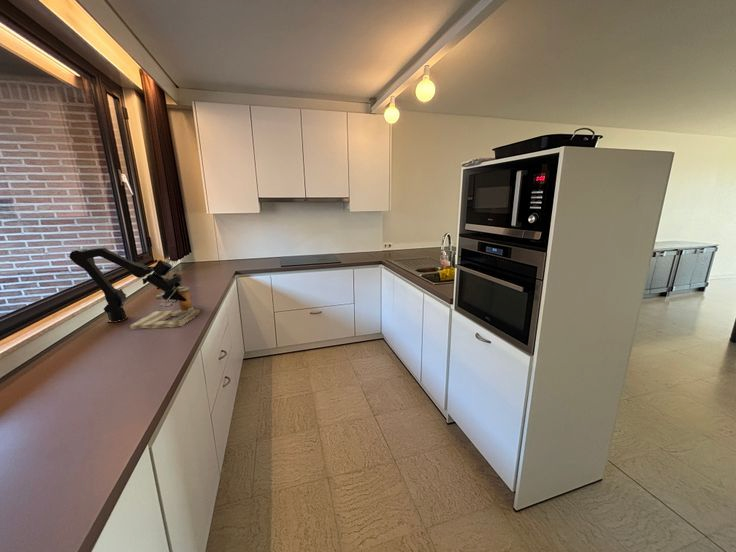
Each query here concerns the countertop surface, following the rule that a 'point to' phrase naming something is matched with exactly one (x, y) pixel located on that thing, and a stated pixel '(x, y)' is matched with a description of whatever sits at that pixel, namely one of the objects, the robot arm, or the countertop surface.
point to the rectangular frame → (157, 319)
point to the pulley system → (162, 297)
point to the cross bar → (182, 315)
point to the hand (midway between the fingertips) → (187, 298)
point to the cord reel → (185, 293)
